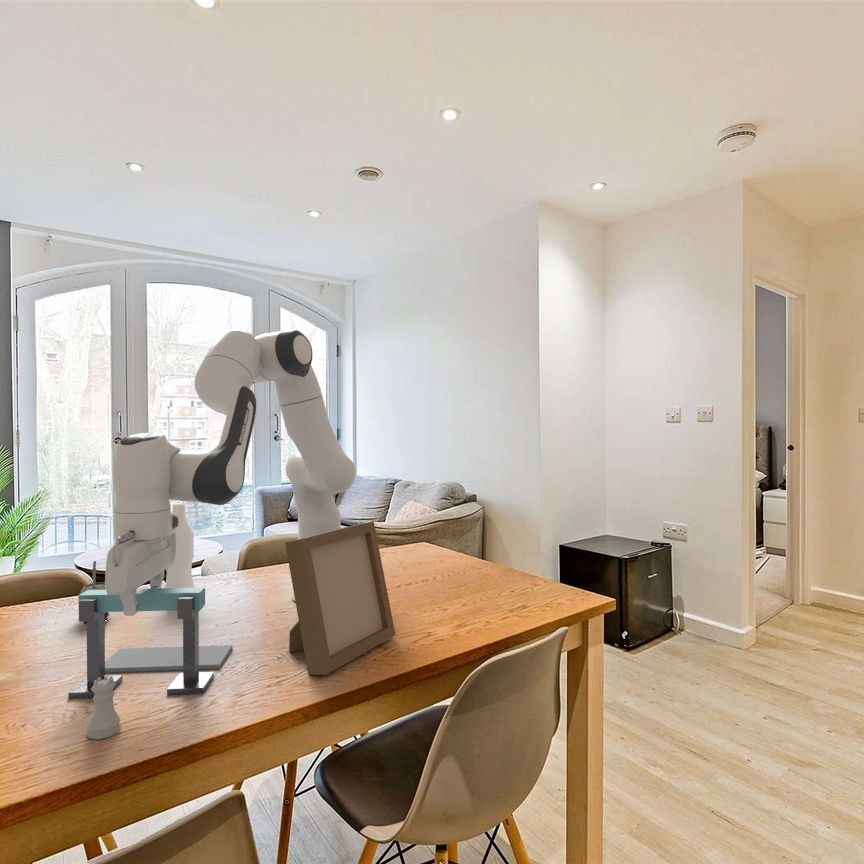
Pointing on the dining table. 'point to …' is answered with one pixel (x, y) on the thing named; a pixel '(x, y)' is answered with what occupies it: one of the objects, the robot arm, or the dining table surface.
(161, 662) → the mat
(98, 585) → the mate gourd
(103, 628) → the forked support stand
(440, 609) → the dining table surface
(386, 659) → the dining table surface
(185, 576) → the water bottle
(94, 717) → the rook chess piece
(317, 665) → the photo frame
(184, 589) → the rail
